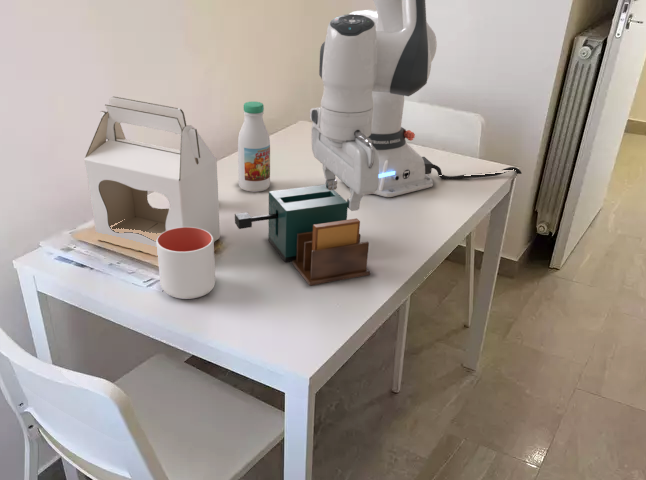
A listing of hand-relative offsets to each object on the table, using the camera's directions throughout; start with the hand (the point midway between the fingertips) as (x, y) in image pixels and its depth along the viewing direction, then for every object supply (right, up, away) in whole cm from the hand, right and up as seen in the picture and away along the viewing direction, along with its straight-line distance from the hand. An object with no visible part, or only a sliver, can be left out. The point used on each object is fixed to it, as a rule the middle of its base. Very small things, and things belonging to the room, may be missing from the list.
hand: (341, 198), depth 120 cm
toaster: (-6, -6, +18) cm, 20 cm away
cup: (-28, -16, +3) cm, 33 cm away
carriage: (-11, -2, +12) cm, 16 cm away
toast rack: (-2, -12, +10) cm, 16 cm away
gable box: (-37, -5, +18) cm, 41 cm away
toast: (-1, -12, +8) cm, 15 cm away
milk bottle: (-19, +12, +43) cm, 48 cm away
